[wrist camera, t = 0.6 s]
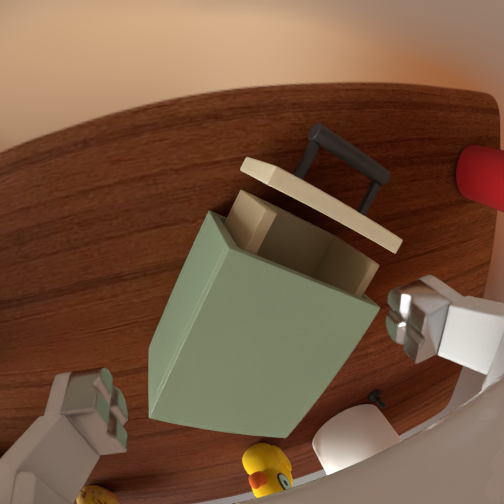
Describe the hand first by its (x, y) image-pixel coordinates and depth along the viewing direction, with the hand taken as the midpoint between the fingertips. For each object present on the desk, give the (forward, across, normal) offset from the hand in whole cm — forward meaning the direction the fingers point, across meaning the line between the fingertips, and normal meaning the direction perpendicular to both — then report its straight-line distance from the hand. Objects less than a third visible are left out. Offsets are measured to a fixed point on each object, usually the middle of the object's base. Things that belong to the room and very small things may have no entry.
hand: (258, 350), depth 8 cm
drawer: (+18, -6, +5) cm, 20 cm away
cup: (+18, -14, +39) cm, 45 cm away
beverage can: (+20, -32, +2) cm, 37 cm away
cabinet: (+19, -2, +11) cm, 22 cm away
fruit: (+18, +27, +39) cm, 51 cm away
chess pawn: (+19, -18, +32) cm, 42 cm away
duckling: (+18, 0, +35) cm, 40 cm away
